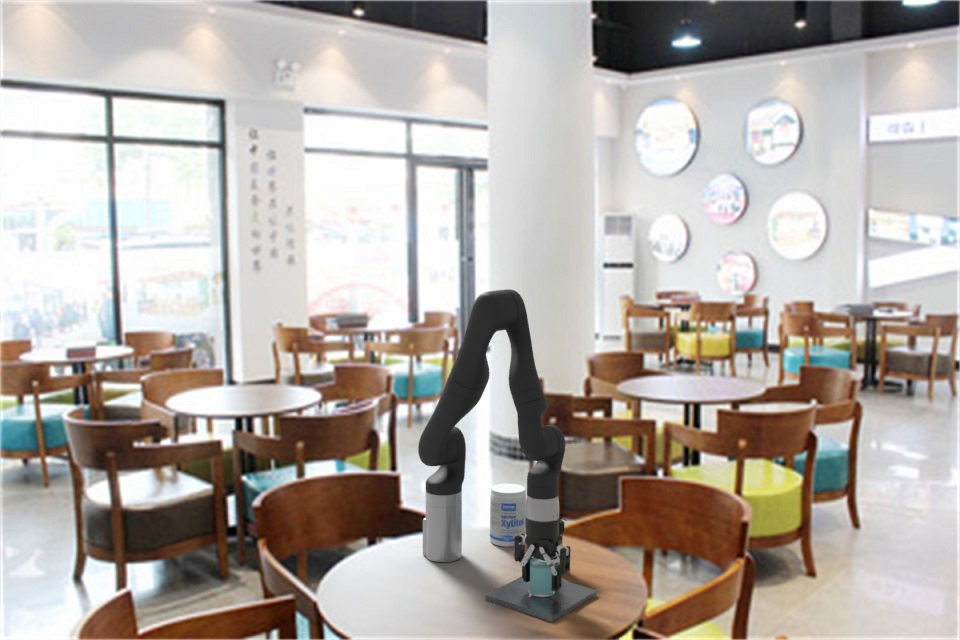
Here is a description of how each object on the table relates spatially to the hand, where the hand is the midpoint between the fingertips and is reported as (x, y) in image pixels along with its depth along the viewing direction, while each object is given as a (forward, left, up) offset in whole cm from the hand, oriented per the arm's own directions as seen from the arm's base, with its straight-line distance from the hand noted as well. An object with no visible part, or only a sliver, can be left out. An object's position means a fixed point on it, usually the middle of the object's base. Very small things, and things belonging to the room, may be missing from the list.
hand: (541, 585), depth 196 cm
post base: (0, 0, -3) cm, 3 cm away
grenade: (-7, +15, -3) cm, 17 cm away
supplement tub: (-28, +24, -3) cm, 37 cm away
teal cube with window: (0, 0, -1) cm, 1 cm away
